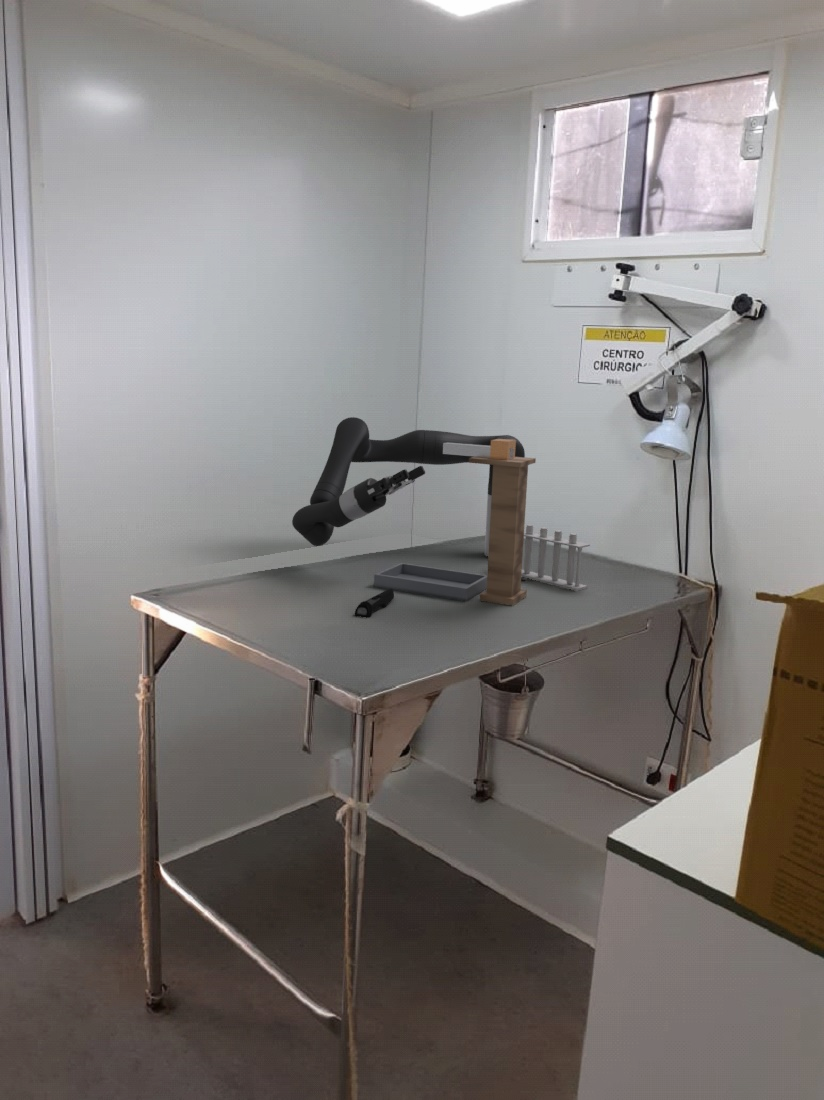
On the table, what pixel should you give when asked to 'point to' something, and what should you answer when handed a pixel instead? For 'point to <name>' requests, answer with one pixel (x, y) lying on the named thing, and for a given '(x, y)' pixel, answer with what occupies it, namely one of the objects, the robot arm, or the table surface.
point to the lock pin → (483, 449)
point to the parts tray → (431, 581)
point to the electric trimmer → (374, 603)
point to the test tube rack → (556, 558)
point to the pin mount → (506, 529)
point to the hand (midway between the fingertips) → (415, 471)
